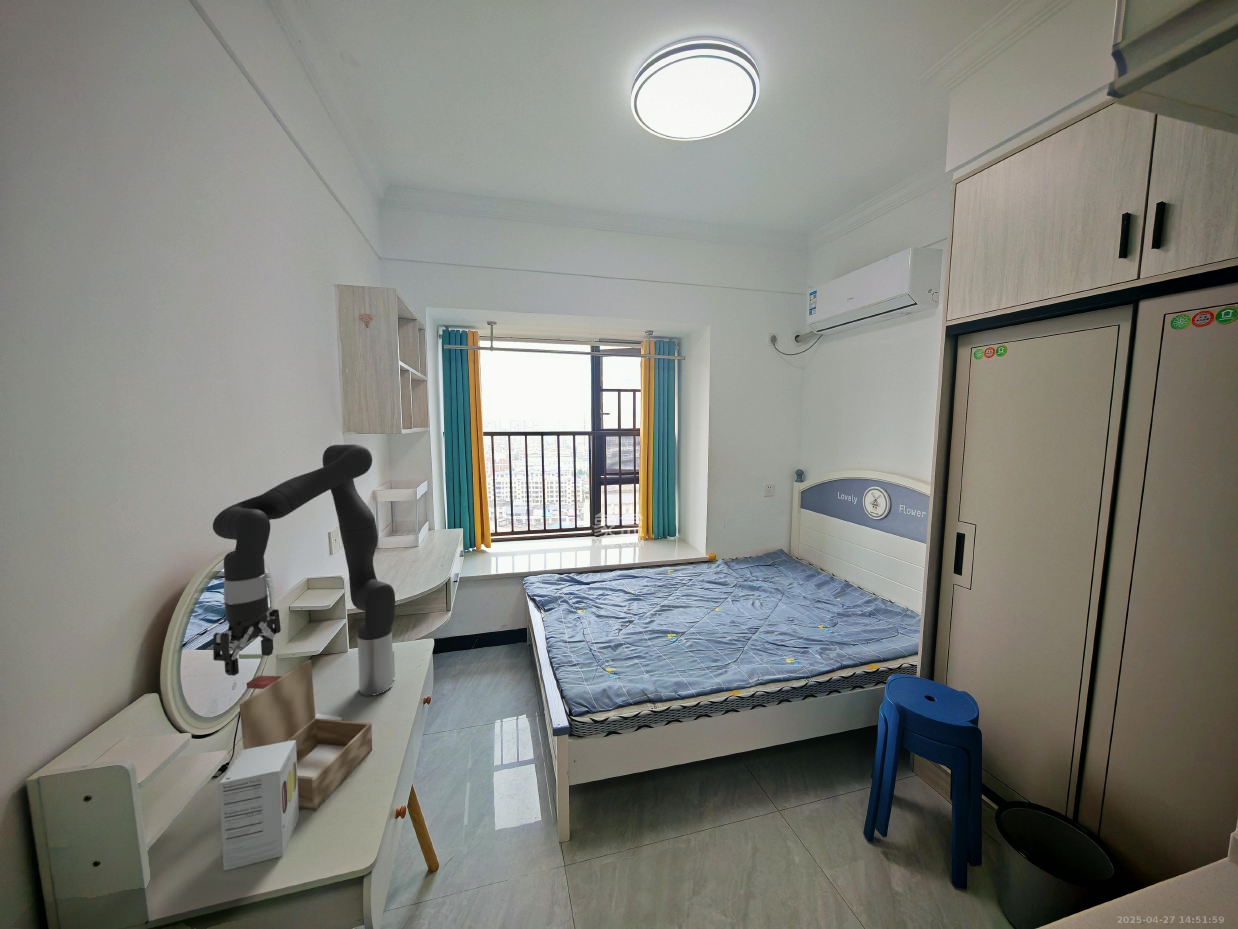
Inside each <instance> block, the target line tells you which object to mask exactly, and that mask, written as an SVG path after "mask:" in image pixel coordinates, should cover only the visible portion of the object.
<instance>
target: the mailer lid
mask: <svg viewBox="0 0 1238 929" xmlns="http://www.w3.org/2000/svg"><path fill="white" fill-rule="evenodd" d="M313 680H314V679H313V668H312V660H311V659H309V660H308V659H307V660H306V661H305V662H303V663H301V664H299V665H298V666H297V667H295V668H294V669H292V670H290V671H289V672H288V673H285V674H284V675H258V676H256V677H255V678H253V679H251V680H249V681H248V682H246V689H253V690H254V689H255V690H256V689H257V690H259V691H257V692H255V693H254V694H253V695H251V696H250V697H248V698H246V699H245V700H243V701H242V702H240V703H239V704H238V705H239V713H240V724H241V725H240V726H241V737H242V748H243V749H242V750H245V749H250V748H255V747H260V746H266V745H271V744H276V743H281V742H286V741H288V740H289V739H290V738H292V737H293V736H294V735H295V734H296V733H298V732H299V731H300V730H301V729H303V728H304V727H305V726H306V725H307V724H309V723H310V722H311V721H312V720H314V719H315V715H316V709H315V708H316V707H315V706H316V705H315V697H314V696H315V695H314V681H313Z"/></svg>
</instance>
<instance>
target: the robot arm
mask: <svg viewBox="0 0 1238 929" xmlns="http://www.w3.org/2000/svg"><path fill="white" fill-rule="evenodd" d="M372 464H373V457H372V453H371V451H370V450H369V449H368V447H366V446H363V445H360V444H353V443H352V444H333V445H330V446H328V447H326V449H324V452H323V454H322V467H320V468H318V469H315V470H313V471H310V472H306V473H304V474H301V475H298V476H294V477H293V478H292V477H291V478H290V479H288V480H285V481H283V482H281V483H279V484H277V485H276V486H274V487H272V488H270V489H269V490H267V491H266V492H264V493H262V494H259V495H257V496H254V497H251V498H247V499H244V500H243V501H239V502H237V503H235V504H232V505H230V506H228V507H227V508H225V509H223V510H221V511H220V512H218V514H217V515H216V516H215V518H214V520H213V523H212V530H213V531H214V534H216V535H217V536H218V537H220V538H223V539H224V540H225V539H226V540H235V541H236V544H235V549H234V550H232V551H229V552H228V553H226V554H225V556H224V558H223V574H224V575H223V576H224V585H223V600H224V614H225V615H224V616H225V620H226V621H227V623H228V627H227V630H225V631H222V632H215V633H214V634H213V635H212V636H213V638H212V639H213V641H212V642H213V643H212V644H213V646H212V647H213V648H212V650H213V651H212V652H213V653H212V654H213V655H212V656H213V657H212V658H213V661H218V662H223V663H224V673H225V674H226V675H228V676H231V677H232V676H236V675H237V676H238V674H239V673H240V669H239V658H238V655H239V653H240V651H241V650H242V649H244V647H245V645H246V643H248V642H250V641H252V640H253V639H255V638H258V637H259V638H260V639H261V640H260V646H261V647H260V649H261V650H260V652H261V655H262V656H265V657H269V656H271V655H272V654H273V651H274V638H275V636H276V634H280V633H281V631H282V628H281V620H280V619H281V617H280V611H279V609H276V608H269V597H268V595H269V594H268V582H267V578H266V566H265V553H266V551H267V546H268V542H269V540H270V539H269V538H270V534H271V522H270V521H271V520H278V519H282V518H284V517H286V516H288V515H289V514H291V513H292V512H294V511H296V510H297V509H299V508H300V507H302V506H303V505H305V504H307V503H308V502H310V501H311V500H314V499H315V498H317V497H319V496H321V495H322V494H325V493H326V492H328V491H330V492H331V496H332V499H333V502H334V508H335V511H336V516H337V520H338V527H339V532H340V537H341V542H342V546H343V550H344V555H345V561H346V565H347V569H348V578H349V579H348V582H349V592H350V595H349V596H350V599H351V600H350V602H352V605H353V606H354V607H355V608H356V609H357V610H360V611H362V612H364V622H362V623H361V624H359V626H358V627H357V653H358V654H357V655H358V660H357V661H358V683H359V685H358V690H359V691H360V692H359V693H360V695H362V694H363V695H362V696H366V695H372V696H374V695H373V694H377V693H380V692H383V691H385V690H387V689H388V688H389V687H390V686H391V685H392V683H393V684H394V681H393V678H394V677H395V676H396V675H395V651H394V650H393V648H394V646H393V625H394V622H395V617H396V592H395V589H394V588H393V586H392V585H391V584H389V583H386V582H383V581H380V580H378V578H377V576H376V572H375V567H374V556H375V552H376V550H377V547H378V542H379V534H378V528H377V524H376V519H375V515H374V514H373V512H372V511H371V509H370V508H369V506H368V505H367V504H366V502H365V501H364V500H363V499H362V497H361V495H360V494H359V492H358V491H357V489H356V488H357V487H356V486H355V480H354V479H356V478H359V477H361V476H363V475H365V474H366V473H368V471H369V470H370V469H371V468H372ZM235 641H236V642H237V643H235ZM395 678H396V677H395ZM387 691H388V690H387ZM383 693H384V692H383Z"/></svg>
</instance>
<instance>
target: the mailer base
mask: <svg viewBox="0 0 1238 929" xmlns="http://www.w3.org/2000/svg"><path fill="white" fill-rule="evenodd" d="M372 725H373V724H372V723H370V722H361V721H360V722H359V721H349V720H342V721H340V720H329V719H318V718H315V719H314V720H313V721H312V722H310V723H309V724H308V725H307V726H306V727H304V728H303V729H302V730H301V731H299V732H298V733H297V734H296V735H295V736H293V737H292V738H291V739H290V740H288V741H293V740H296V754H297V780H298V803H299V810H305V811H314V812H315V811H316V812H317V810H318V809H319V808H320V807H321V806H322V805H323V804H324V803H325V802H326V800H328V798H329V797H330V796H331V795H332V794H333V793H334V792H335V791H336V790H337V788H339V787H340V785H342V783H343V782H344V781H345V780H346V779H348V777H349V776H350V774H351V773H352V772H353V771H355V769H356V768H357V767H358V766H359V765H360V763H361V762H363V760H364V759H366V757H367V756H368V755H369V754H370V753H371V752H372V750H373V733H372V732H373V728H372Z"/></svg>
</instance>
